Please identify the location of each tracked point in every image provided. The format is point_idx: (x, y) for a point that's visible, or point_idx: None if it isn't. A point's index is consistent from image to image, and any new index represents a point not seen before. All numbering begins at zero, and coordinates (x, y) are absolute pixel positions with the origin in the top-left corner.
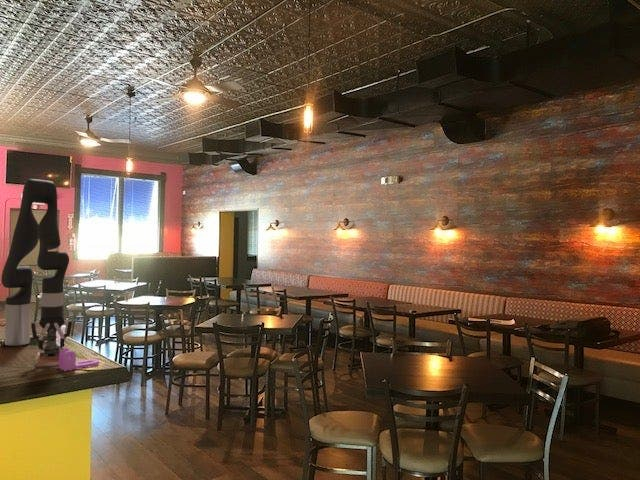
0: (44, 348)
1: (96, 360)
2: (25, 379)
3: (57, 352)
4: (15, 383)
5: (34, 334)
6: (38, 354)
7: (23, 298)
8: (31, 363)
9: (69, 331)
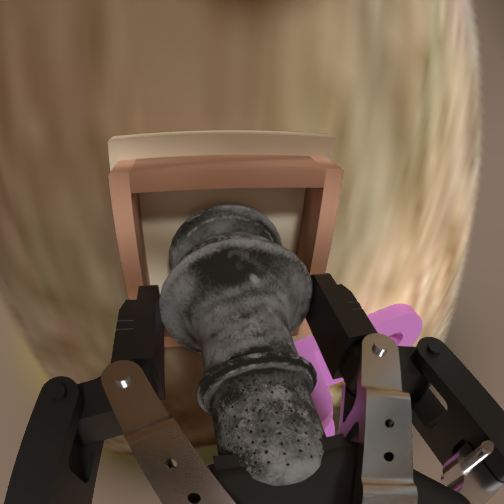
0: (179, 340)
1: (415, 330)
2: None
3: (281, 183)
4: (127, 447)
5: (80, 462)
6: (128, 259)
7: None
8: (97, 236)
9: (432, 417)
